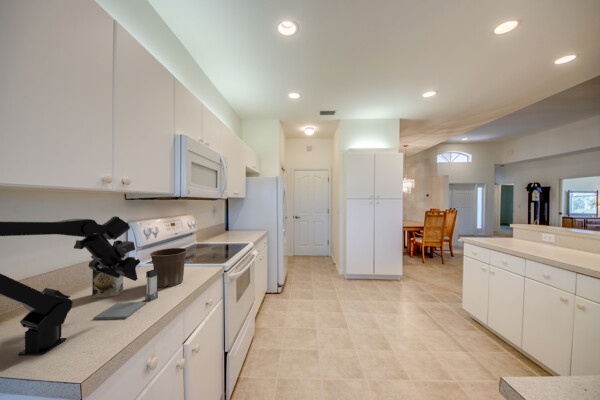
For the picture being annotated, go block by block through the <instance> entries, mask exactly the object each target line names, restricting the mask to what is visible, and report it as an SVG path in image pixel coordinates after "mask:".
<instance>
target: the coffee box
mask: <svg viewBox="0 0 600 400" xmlns="http://www.w3.org/2000/svg"><path fill="white" fill-rule="evenodd" d="M121 259H122V260H125V257H123V258H121ZM115 267H116V266H115ZM91 279H92V283H91V284H92V286H91V287H92V289H91V291H92V292H91V293H92V295H91V298H92V299H95V298H96V299H97V298H107V297H108V298H110V297H117V296H119V295H120V294H121V293H123V292H124V276H120V277H119V278H116V277H113V276H110V275H107V274H104V273H101V272H98V271H95V270H92V278H91Z"/></svg>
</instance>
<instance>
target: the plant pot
mask: <svg viewBox="0 0 600 400" xmlns="http://www.w3.org/2000/svg"><path fill="white" fill-rule="evenodd" d="M187 253H188V249H187V248H182V247H171V248H168V247H167V248H163V249H157V250H154V251H151V252H150V253H149V256H151V257H150V258H151V262H152V266H153V270H157V288H167V287H168V288H170V287H174V286H178V285H179V284H182V283H183V281H184V275H185V274H184V273H185V262H186V261H185V260H186V258H187Z"/></svg>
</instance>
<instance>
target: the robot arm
mask: <svg viewBox="0 0 600 400" xmlns="http://www.w3.org/2000/svg"><path fill="white" fill-rule="evenodd" d="M130 228H131V227H130V225H129V223H128V222H126V221H125V220H123V219H121V217H119V216H112V217H111V218H110V219H109V220H107V221H106V222H104V223H103V224H100V223H98V222H97V221H96V220H94V219H91V218H72V219H71V218H70V219H69V218H68V219H62V220H56V221H9V220H8V221H4V220H3V221H0V237H14V236H19V237H21V236H41V235H42V236H43V235H44V236H45V235H46V236H47V235H48V236H50V235H52V236H53V235H58V236H59V235H61V236H68V237H69V236H70V237H78V238H79V237H81V238H83V239H77V240H76V239H75V243H74V246H73V249H76V250H83V249H85V250H87V251H88V253H89V254H90V255H91V256H90V258H91V261H90V262H89V263H88V268H90V269H91V270H92V271H93V270H95V271H98V272H101V273H104V274H107V275H110V276H113V277H116V278H119V277H120V276H123V278H126V279H129V280H132V281H134V282H136V281H137V280H138V275H137V270H136V267H137V266H138V265H140V263H141V260H140V258H138V257H137V256H136V257H135V256H127V255H126V254H128V253H130V252H133V251H136V246H135V242H134V241H131V240H130V241H129V240H128V241H127V240H126V241H124V240H123V241H122V240H119V239H118V238H120V237H121V236H122V235H124V234H125V233H126V232H127V231H129V230H131V229H130ZM110 240H111V241H113V243H111V242H110ZM126 256H127V257H126ZM123 257H124V260H122V259H121V258H123ZM125 257H126V258H125ZM115 266H116V267H115ZM0 296H1V297H3V298H6V299H9V300H11V301H14V302H17V303H19V304H21V305H22V306H23V307H24V308H25V309H26V310H27V311H29V312H28V313H27V314H26V315H25V316H24V317H23V318H21V320H20V321H19V323H20V325H21V326H22V328H27V330H26V331H24V349H23V350H21V351H19V352H18V356H31V355H32V356H33V355H35V356H36V355H44V354H46V353H47V352H49V351H51V350H53V348H56V347H58V345H60V344H62V343H63V342H65V341H67V338H66V337H62V325H63V324H64V323H65V320H66V318H67V316H68V314H69V312H71V309H72V308H73V300H72V299H70V298H71V295H68V294H63V293H62V292H61V291H59V290H58V289H53V288H48V287H45V288H44V289H43V290H42V291H40V290H38V289H35V288H33V287H31V286H29V285H27V284H24V283H23V282H21V281H18V280H15V279H13V278H11V277H9V276H7V275H5V274H2V273H0Z"/></svg>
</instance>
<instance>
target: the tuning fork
mask: <svg viewBox="0 0 600 400" xmlns="http://www.w3.org/2000/svg"><path fill="white" fill-rule="evenodd" d="M145 276H146V293H145V294H144V300H145V301H146V302H147V301H148V302H153V301H154V300H157V299H159V292H158V290H157V289H158V287H157V270H154V269H149V270H147V271H146V272H145Z"/></svg>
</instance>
